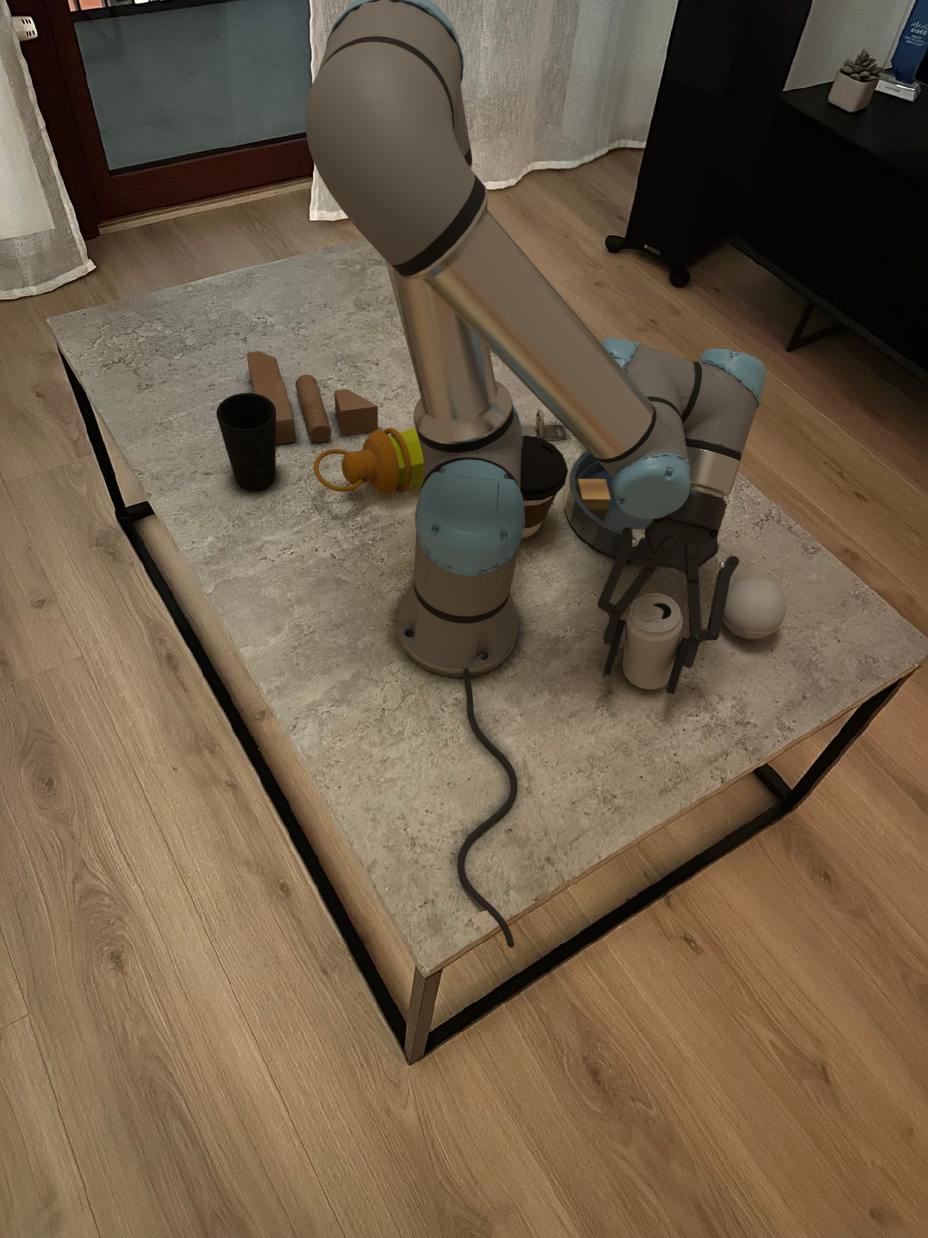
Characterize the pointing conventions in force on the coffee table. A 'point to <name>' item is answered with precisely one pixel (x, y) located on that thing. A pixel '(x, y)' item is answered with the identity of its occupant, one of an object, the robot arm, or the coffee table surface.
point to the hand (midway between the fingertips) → (638, 682)
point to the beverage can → (651, 640)
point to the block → (594, 495)
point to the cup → (249, 439)
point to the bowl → (609, 529)
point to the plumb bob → (381, 462)
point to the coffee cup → (540, 480)
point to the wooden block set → (309, 403)
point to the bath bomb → (754, 607)
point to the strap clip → (543, 429)
